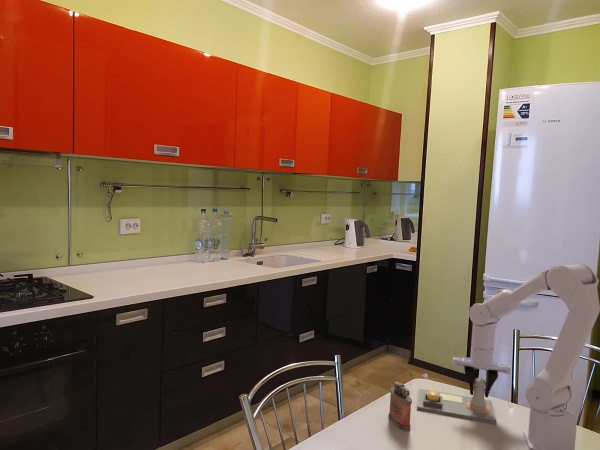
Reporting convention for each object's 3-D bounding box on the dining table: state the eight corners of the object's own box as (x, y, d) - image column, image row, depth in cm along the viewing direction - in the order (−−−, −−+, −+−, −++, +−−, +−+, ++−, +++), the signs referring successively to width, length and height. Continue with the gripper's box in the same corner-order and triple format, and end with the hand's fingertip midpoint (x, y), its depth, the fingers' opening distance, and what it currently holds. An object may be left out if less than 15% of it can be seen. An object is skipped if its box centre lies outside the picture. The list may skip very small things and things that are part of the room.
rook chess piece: (488, 412, 118) (491, 384, 117) (471, 411, 118) (474, 382, 118) (483, 404, 122) (486, 377, 122) (467, 403, 123) (469, 375, 122)
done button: (438, 397, 124) (439, 392, 123) (438, 402, 120) (439, 397, 120) (427, 395, 125) (427, 390, 124) (426, 400, 121) (427, 395, 121)
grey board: (491, 403, 125) (491, 396, 125) (496, 423, 114) (496, 416, 114) (419, 391, 131) (419, 384, 131) (416, 409, 120) (417, 402, 120)
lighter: (385, 415, 116) (387, 378, 115) (396, 414, 117) (399, 377, 116) (401, 431, 108) (403, 392, 108) (413, 429, 109) (415, 391, 109)
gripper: (509, 345, 121) (505, 393, 122) (453, 338, 126) (450, 384, 127) (513, 354, 115) (509, 404, 116) (454, 346, 119) (451, 394, 120)
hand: (478, 394), depth 121 cm, fingers closed on rook chess piece, 3 cm apart
